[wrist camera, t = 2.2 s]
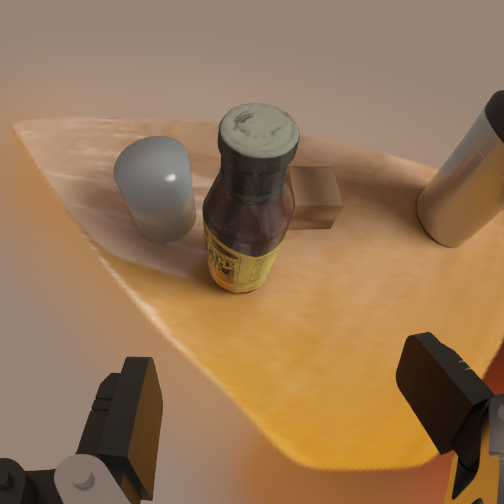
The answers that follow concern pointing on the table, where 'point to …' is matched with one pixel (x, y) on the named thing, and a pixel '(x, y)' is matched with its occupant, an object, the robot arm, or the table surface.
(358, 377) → the table surface
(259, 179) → the sauce bottle
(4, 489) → the robot arm
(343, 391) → the table surface
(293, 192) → the walnut block
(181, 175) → the grey rounded cylinder
